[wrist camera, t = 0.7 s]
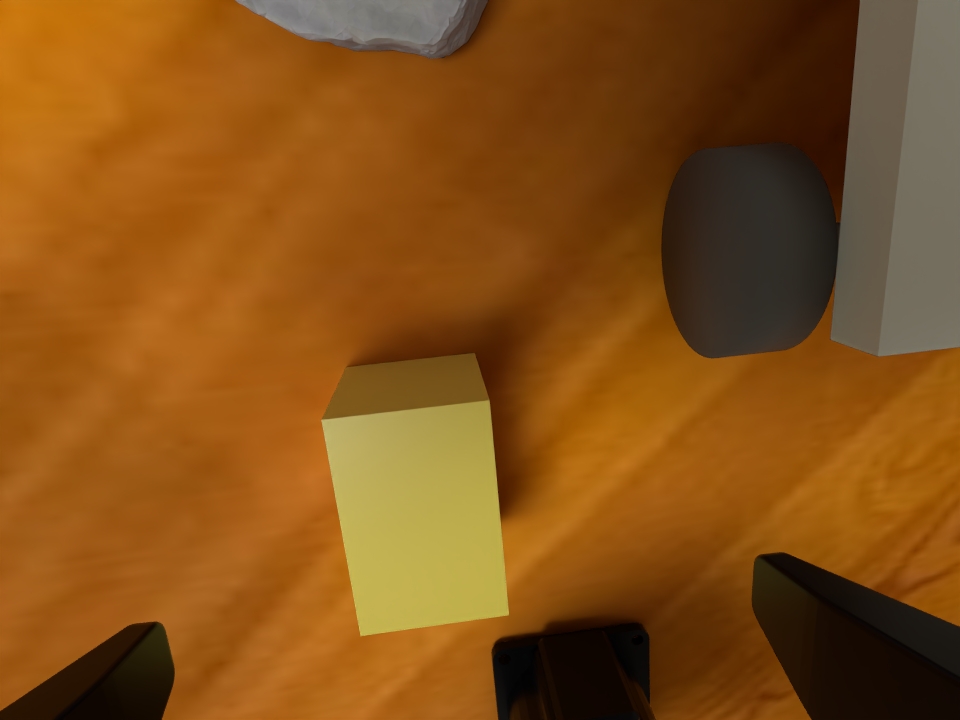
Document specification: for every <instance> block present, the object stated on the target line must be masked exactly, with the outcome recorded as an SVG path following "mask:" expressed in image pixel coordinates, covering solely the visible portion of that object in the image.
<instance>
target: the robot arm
mask: <svg viewBox="0 0 960 720" xmlns="http://www.w3.org/2000/svg"><path fill="white" fill-rule="evenodd" d="M752 607H753V611H754V613H755V616H756V618H757V620H758V622H759V624H760V626H761V628H762V630H763V631H764V633H765V635H766V637H767V639H768V641H769V643H770V645H771V646H772V648H773V650H774V652H775V654H776V656H777V658H778V660H779V661H780V663H781V665H782V667H783V669H784V671H785V673H786V675H787V676H788V678H789V680H790V682H791V684H792V686H793V688H794V690H795V692H796V693H797V695H798V697H799V699H800V701H801V702H802V704H803V706H804V708H805V709H806V711H807V713H808V714H809V716H810V718H811V719H812V720H960V627H959V626H956V625H954V624H952V623H949V622H947V621H945V620H942V619H940V618H938V617H935V616H933V615H930V614H928V613H926V612H923V611H921V610H919V609H916V608H914V607H912V606H909V605H907V604H905V603H902V602H900V601H897V600H895V599H893V598H890V597H888V596H886V595H883V594H881V593H879V592H876V591H874V590H872V589H869V588H867V587H864V586H862V585H860V584H857V583H855V582H853V581H850V580H848V579H846V578H843V577H841V576H838V575H836V574H834V573H831V572H829V571H827V570H824V569H822V568H820V567H817V566H815V565H813V564H810V563H808V562H805V561H803V560H801V559H798V558H796V557H794V556H791V555H789V554H787V553H782V552H779V553H770V554H761V555H759V556H757V557H756V559H755V561H754V570H753V586H752ZM636 635H639V636H638V637H636V638H633V637H634V636H636ZM504 654H508V655H507V656H505V657H500V656H501V655H504ZM492 663H493V673H494V683H495V693H496V702H497V712H498V720H656V719H655V717H654V714H653V712H652V710H651V707H650V680H649V635H648V633H647V631H646V629H645V627H644V626H643V625H641V624H639V623H631V624H624V625H617V626H610V627H603V628H596V629H589V630H582V631H575V632H568V633H561V634H554V635H547V636H540V637H533V638H526V639H520V640H513V641H506V642H501V643H498V644H496V645H495V646H494V647H493V649H492ZM174 677H175V668H174V663H173V659H172V655H171V651H170V647H169V643H168V639H167V635H166V631H165V628H164V626H163V625H162V624H161V623H159V622H146V623H137V624H132V625H129V626H127V627H126V628H124V629H123V630H121V631H120V632H118V633H117V634H115V635H114V636H112V637H111V638H109V639H108V640H106V641H105V642H103V643H102V644H100V645H99V646H97V647H96V648H94V649H93V650H91V651H90V652H88V653H87V654H85V655H84V656H82V657H81V658H79V659H78V660H76V661H75V662H73V663H72V664H70V665H69V666H67V667H66V668H64V669H63V670H61V671H60V672H58V673H57V674H55V675H54V676H52V677H51V678H49V679H48V680H46V681H45V682H43V683H42V684H40V685H39V686H37V687H36V688H34V689H33V690H31V691H30V692H28V693H27V694H25V695H24V696H22V697H21V698H19V699H18V700H16V701H15V702H13V703H12V704H10V705H9V706H7V707H6V708H4V709H3V710H1V711H0V720H162V717H163V714H164V711H165V708H166V705H167V702H168V699H169V696H170V693H171V690H172V687H173V683H174Z"/></svg>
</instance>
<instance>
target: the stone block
mask: <svg viewBox="0 0 960 720" xmlns="http://www.w3.org/2000/svg"><path fill="white" fill-rule="evenodd" d="M235 1H237V2H238V3H240V4H242V5H244V6H245V7H247V8H249V9H250V10H251V11H252V12H253V13H255V14H258V15H260V16H263V17H265V18H267V19H269V20H270V21H272V22H274V23H275V24H277V25H279V26H281V27H283V28H284V29H286V30H288V31H290V32H292V33H294V34H296V35H298V36H300V37H303V38H305V39H308V40H312V41H321V42H331V43H332V44H334V45H335V46H340V47H346V48H349V49H351V50H353V51H385V50H396V51H400V52H405V53H413V54H418V55H421V56H425V57H428V58H429V59H430V58H445V56H446V55H450V54H451V53H453V52H454V51H455V50H456V49H458V48H460V47H461V46H462V45H463V44H465V43H467V42H468V40H469V38H470V36H471V35H472V33H473V32H474V30H475V29H476V27H477V25H478V22H479V20H480V17H481V14H482V12H483V10H484V8H485V6H486V4H487V2H488V1H489V0H235Z"/></svg>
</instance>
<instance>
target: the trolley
mask: <svg viewBox="0 0 960 720" xmlns="http://www.w3.org/2000/svg"><path fill="white" fill-rule="evenodd" d="M836 267H837V270H836ZM662 269H663V277H664V284H665V290H666V295H667V299H668V303H669V306H670V309H671V313H672V315H673V318H674V321H675V323H676V325H677V327H678V329H679V331H680V333H681V335H682V336H683V338H684V339H685V341H686V342H687V343H688V345H689V346H690V347H691V348H692V349H693V350H694V351H695V352H697V353H698V354H700V355H702V356H704V357H707V358H720V357H729V356H738V355H747V354H755V353H764V352H773V351H781V350H787V349H790V348H793V347H794V346H796V345H798V344H799V343H801V342H802V341H803V340H804V339H806V338H807V337H808V336H809V335H810V333H811V332H812V331H813V330H814V329H815V327H816V326H817V324H818V322H819V321H820V319H821V318H822V315H823V313H824V311H825V309H826V307H827V304H828V302H829V299H830V296H831V293H832V289H833V284H834V280H835V275H836V282H835V293H834V305H833V316H832V328H831V339H830V340H832V341H835V342H838V343H841V344H844V345H847V346H849V347H852V348H855V349H858V350H861V351H863V352H866V353H869V354H872V355H875V356H878V357H879V356H888V355H896V354H905V353H913V352H922V351H930V350H939V349H948V348H956V347H960V0H860V7H859V19H858V30H857V42H856V53H855V65H854V76H853V87H852V99H851V110H850V122H849V133H848V145H847V156H846V168H845V179H844V190H843V202H842V213H841V222H837V223H836V217H835V211H834V207H833V203H832V199H831V196H830V193H829V190H828V187H827V184H826V182H825V180H824V178H823V176H822V174H821V172H820V171H819V169H818V168H817V166H816V165H815V163H814V162H813V161H812V160H811V159H810V158H809V157H808V155H807V154H806V153H804V152H803V151H802V150H800V149H799V148H797V147H795V146H793V145H791V144H787V143H783V142H774V143H762V144H751V145H740V146H729V147H718V148H707V149H702V150H699V151H697V152H695V153H693V154H692V155H691V156H690V157H689V158H688V159H687V160H686V161H685V162H684V163H683V165H682V166H681V167H680V169H679V171H678V173H677V174H676V177H675V179H674V181H673V183H672V186H671V189H670V192H669V195H668V199H667V203H666V208H665V213H664V220H663V228H662Z"/></svg>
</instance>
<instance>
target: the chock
mask: <svg viewBox="0 0 960 720" xmlns="http://www.w3.org/2000/svg"><path fill="white" fill-rule="evenodd" d="M322 425H323V431H324V436H325V442H326V447H327V453H328V458H329V464H330V469H331V475H332V480H333V486H334V491H335V497H336V502H337V508H338V514H339V519H340V525H341V530H342V536H343V541H344V547H345V552H346V558H347V563H348V569H349V574H350V580H351V585H352V591H353V596H354V602H355V608H356V613H357V619H358V624H359V630H360V635H361V636H364V635H371V634H378V633H385V632H392V631H399V630H406V629H413V628H421V627H428V626H435V625H442V624H449V623H456V622H463V621H470V620H477V619H485V618H492V617H499V616H506V615H509V610H508V599H507V588H506V577H505V566H504V554H503V543H502V532H501V521H500V510H499V499H498V488H497V477H496V466H495V455H494V444H493V433H492V421H491V410H490V400H489V397H488V394H487V390H486V387H485V384H484V381H483V378H482V375H481V371H480V368H479V365H478V362H477V359H476V355H475V353H469V354H460V355H451V356H442V357H433V358H424V359H415V360H406V361H397V362H388V363H379V364H370V365H361V366H352V367H346V368H345V371H344V373H343V375H342V377H341V379H340V381H339V384H338V386H337V388H336V390H335V392H334V394H333V396H332V399H331V401H330V403H329V405H328V407H327V409H326V411H325V414H324V416H323V418H322Z"/></svg>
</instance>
